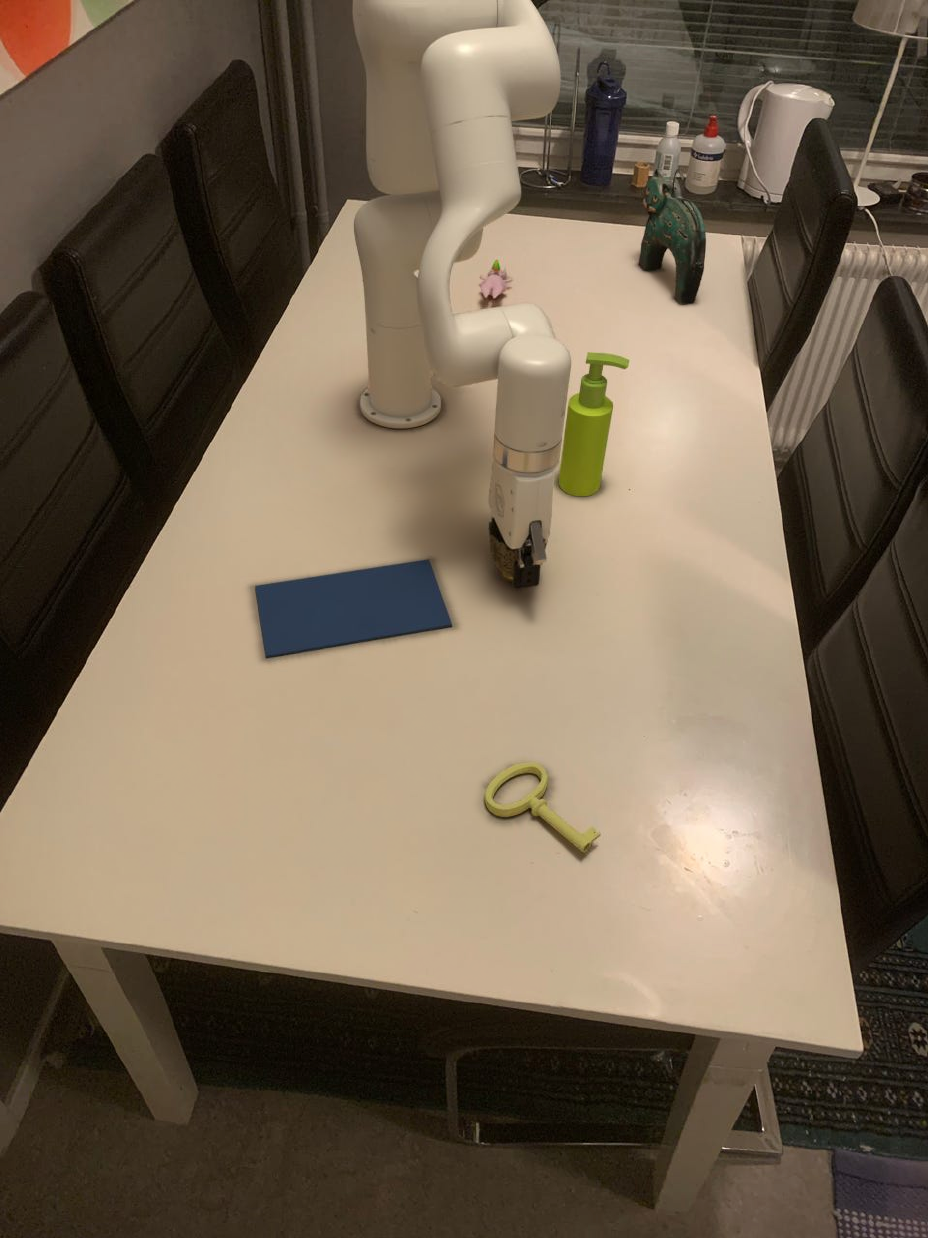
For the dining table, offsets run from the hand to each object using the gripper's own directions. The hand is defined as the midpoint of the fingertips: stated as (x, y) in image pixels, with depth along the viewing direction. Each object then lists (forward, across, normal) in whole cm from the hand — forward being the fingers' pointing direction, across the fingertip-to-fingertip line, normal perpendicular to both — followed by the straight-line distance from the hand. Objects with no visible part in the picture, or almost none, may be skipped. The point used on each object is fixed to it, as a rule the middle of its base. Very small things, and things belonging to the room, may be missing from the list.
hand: (516, 564), depth 114 cm
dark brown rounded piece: (+2, 0, 0) cm, 2 cm away
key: (+2, +34, -8) cm, 35 cm away
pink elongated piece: (+2, -75, +19) cm, 77 cm away
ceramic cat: (+2, -73, +53) cm, 90 cm away
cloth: (+2, +1, -21) cm, 21 cm away
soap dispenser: (+2, -16, +15) cm, 22 cm away
